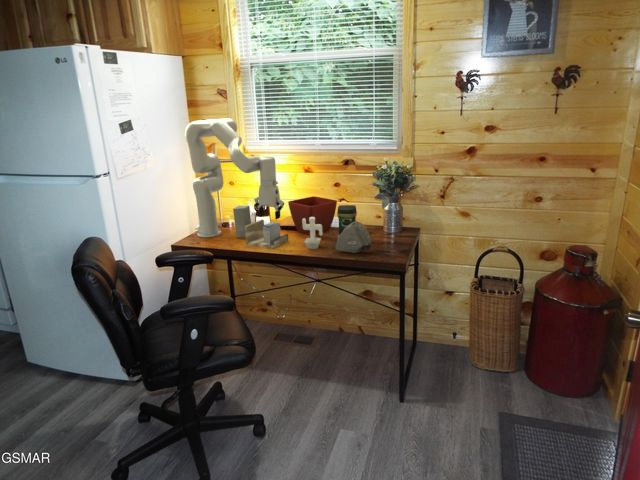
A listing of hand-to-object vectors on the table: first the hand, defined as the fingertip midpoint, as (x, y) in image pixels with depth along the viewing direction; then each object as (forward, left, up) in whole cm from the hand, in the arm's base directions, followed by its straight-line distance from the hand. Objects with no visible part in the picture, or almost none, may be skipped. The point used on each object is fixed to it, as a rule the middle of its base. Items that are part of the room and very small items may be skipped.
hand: (269, 217), depth 230 cm
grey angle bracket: (-2, 0, -14) cm, 14 cm away
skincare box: (-21, +5, -14) cm, 26 cm away
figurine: (+23, +3, -14) cm, 27 cm away
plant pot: (+9, +27, -14) cm, 31 cm away
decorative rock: (+44, +4, -14) cm, 46 cm away
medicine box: (+1, 0, -12) cm, 12 cm away
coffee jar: (+34, +18, -14) cm, 41 cm away
